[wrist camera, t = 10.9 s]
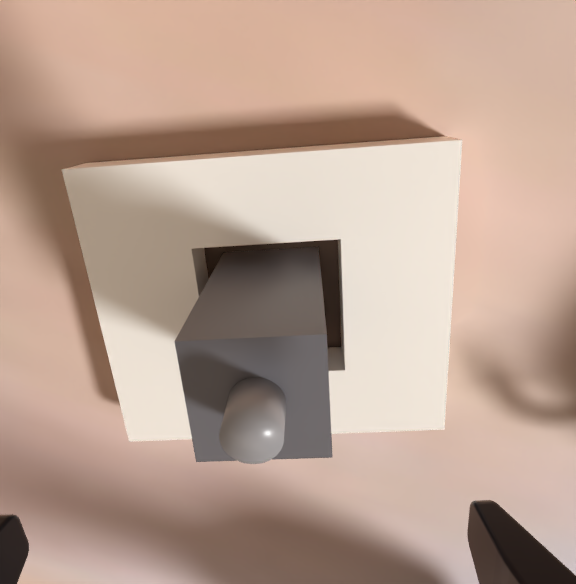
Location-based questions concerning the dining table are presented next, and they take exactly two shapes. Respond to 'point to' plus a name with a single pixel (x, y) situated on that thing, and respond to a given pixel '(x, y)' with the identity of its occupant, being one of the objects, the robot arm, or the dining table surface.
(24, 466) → the dining table surface
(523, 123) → the dining table surface
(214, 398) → the charger brick
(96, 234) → the outlet plate
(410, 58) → the dining table surface
